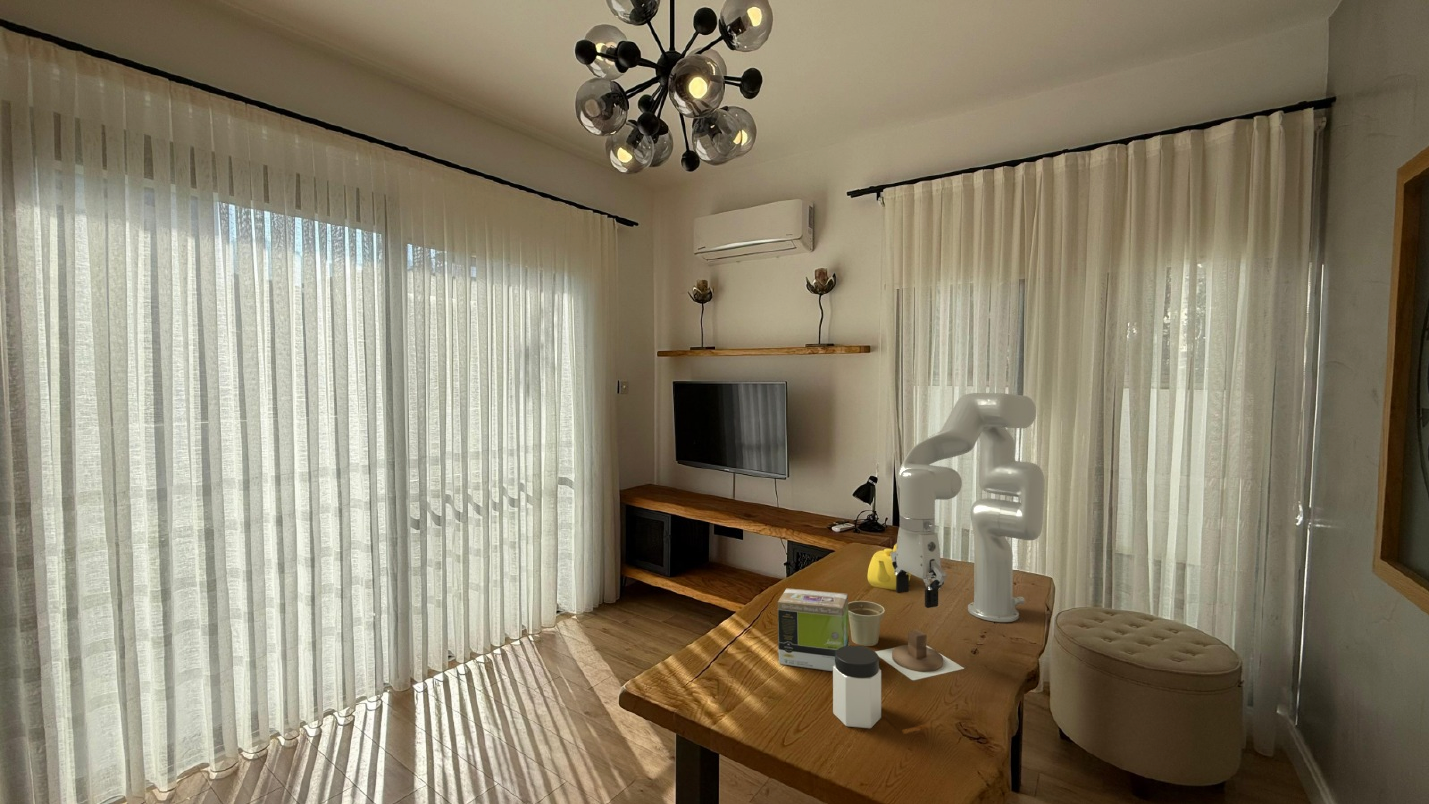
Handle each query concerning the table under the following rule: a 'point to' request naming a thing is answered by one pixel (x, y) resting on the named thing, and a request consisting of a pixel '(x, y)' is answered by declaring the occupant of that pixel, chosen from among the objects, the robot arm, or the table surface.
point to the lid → (917, 654)
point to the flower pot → (865, 622)
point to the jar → (857, 686)
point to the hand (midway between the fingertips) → (916, 599)
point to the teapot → (883, 570)
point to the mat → (915, 675)
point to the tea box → (812, 627)
